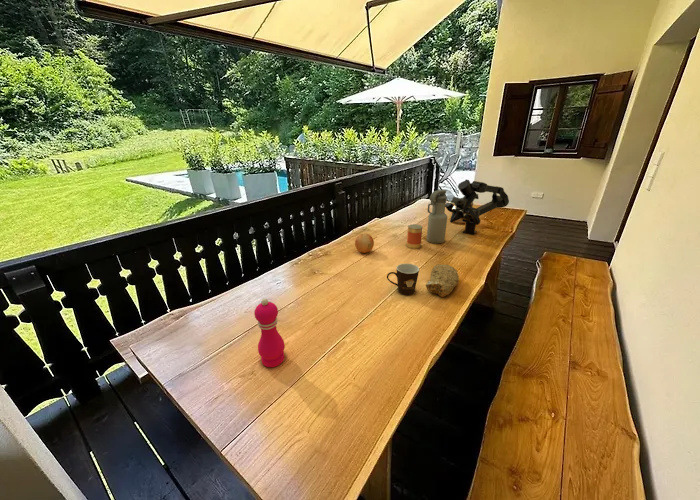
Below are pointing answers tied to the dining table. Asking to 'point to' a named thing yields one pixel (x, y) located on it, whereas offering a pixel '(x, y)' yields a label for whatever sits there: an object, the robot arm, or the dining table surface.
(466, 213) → the robot arm
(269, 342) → the pepper mill
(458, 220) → the stone cup
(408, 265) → the coffee mug
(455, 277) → the rock
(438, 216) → the water bottle
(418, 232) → the tin can
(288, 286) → the dining table surface
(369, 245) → the onion
